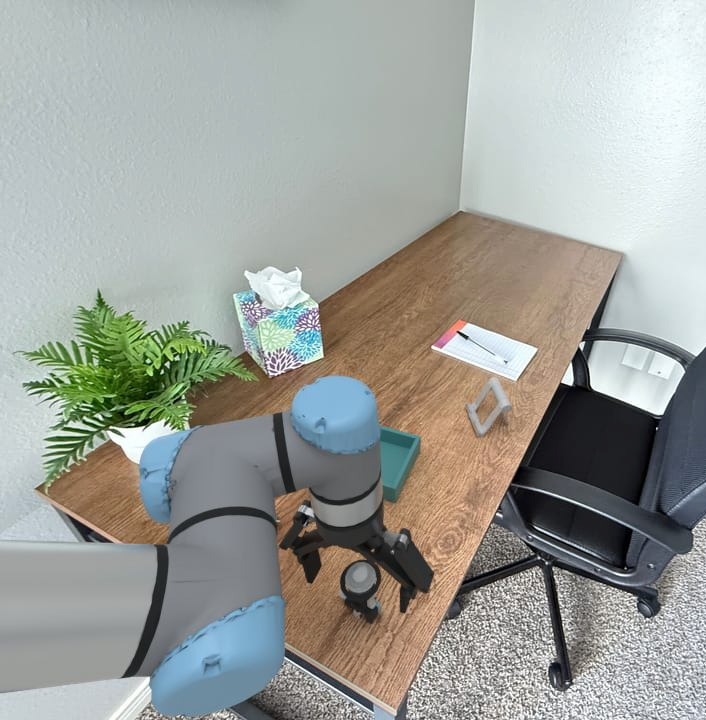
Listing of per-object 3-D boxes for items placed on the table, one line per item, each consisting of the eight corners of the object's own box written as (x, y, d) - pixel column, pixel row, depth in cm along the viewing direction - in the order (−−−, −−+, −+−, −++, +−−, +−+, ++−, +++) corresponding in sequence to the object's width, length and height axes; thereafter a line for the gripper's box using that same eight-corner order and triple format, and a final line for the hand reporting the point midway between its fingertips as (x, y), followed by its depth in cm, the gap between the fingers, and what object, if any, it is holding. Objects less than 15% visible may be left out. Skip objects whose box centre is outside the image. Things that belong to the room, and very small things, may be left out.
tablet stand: (464, 408, 101) (468, 380, 96) (498, 403, 104) (503, 375, 99) (476, 437, 95) (480, 409, 90) (511, 432, 98) (518, 403, 92)
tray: (298, 474, 84) (295, 460, 81) (332, 426, 93) (331, 411, 91) (395, 503, 81) (395, 489, 79) (420, 450, 91) (420, 436, 88)
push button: (329, 611, 66) (322, 577, 60) (352, 579, 70) (348, 544, 64) (367, 635, 64) (364, 603, 58) (389, 601, 68) (389, 567, 62)
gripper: (466, 500, 52) (453, 588, 65) (265, 444, 55) (292, 539, 69) (446, 562, 46) (437, 645, 60) (223, 495, 50) (261, 588, 63)
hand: (359, 588), depth 64 cm, fingers open, 13 cm apart
